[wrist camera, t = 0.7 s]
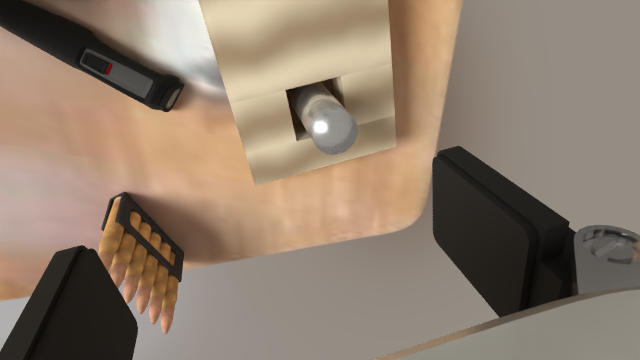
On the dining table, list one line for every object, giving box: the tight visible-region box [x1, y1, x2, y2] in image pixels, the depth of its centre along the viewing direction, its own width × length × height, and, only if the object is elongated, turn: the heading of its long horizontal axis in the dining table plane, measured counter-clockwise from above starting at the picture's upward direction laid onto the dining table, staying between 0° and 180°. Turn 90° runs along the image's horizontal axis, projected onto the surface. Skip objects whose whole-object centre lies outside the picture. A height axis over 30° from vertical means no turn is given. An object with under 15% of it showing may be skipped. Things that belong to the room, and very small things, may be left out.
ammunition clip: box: [98, 192, 184, 334], centre depth 39 cm, size 11×2×12 cm, turn 24°
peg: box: [290, 81, 358, 155], centre depth 37 cm, size 4×4×10 cm
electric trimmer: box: [0, 0, 184, 112], centre depth 33 cm, size 4×16×3 cm, turn 53°
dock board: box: [198, 0, 397, 186], centre depth 35 cm, size 28×16×4 cm, turn 9°
